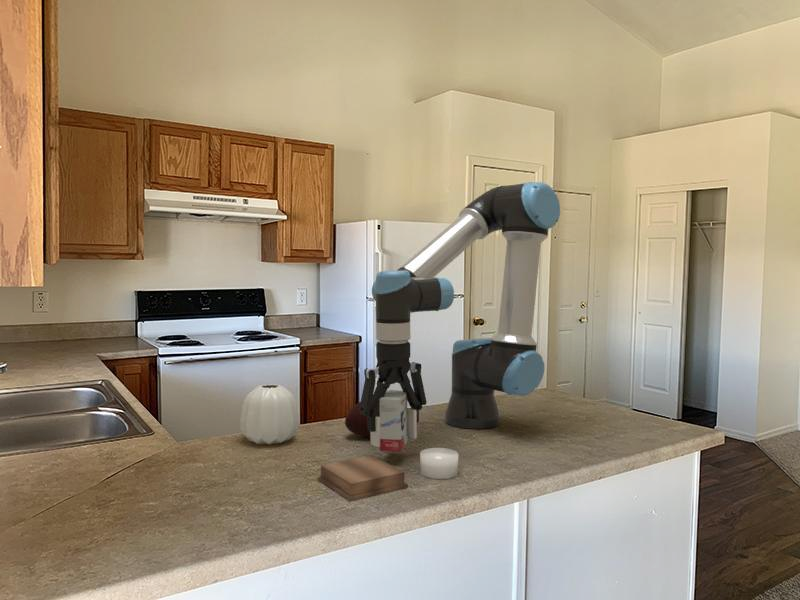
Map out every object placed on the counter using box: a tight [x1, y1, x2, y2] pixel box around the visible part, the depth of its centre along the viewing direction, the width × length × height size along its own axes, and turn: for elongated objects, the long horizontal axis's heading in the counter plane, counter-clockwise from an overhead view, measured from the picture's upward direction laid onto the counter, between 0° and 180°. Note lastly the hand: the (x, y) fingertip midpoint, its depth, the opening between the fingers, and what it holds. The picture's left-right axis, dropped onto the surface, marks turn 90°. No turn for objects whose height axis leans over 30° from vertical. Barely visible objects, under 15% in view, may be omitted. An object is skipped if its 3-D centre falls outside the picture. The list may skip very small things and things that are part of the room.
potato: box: [344, 401, 380, 438], centre depth 154 cm, size 9×12×9 cm
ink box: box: [379, 389, 408, 453], centre depth 137 cm, size 9×5×12 cm, turn 168°
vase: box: [239, 383, 300, 445], centre depth 150 cm, size 14×14×13 cm
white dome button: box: [419, 447, 459, 480], centre depth 129 cm, size 8×8×4 cm
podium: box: [317, 455, 409, 502], centre depth 122 cm, size 13×13×3 cm
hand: (393, 441), depth 137 cm, fingers closed on ink box, 9 cm apart
